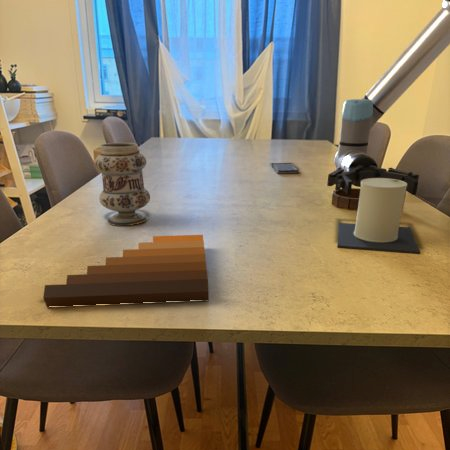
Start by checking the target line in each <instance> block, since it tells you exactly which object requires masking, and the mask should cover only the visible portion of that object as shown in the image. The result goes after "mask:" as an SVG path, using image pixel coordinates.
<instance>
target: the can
mask: <svg viewBox="0 0 450 450" xmlns="http://www.w3.org/2000/svg"><path fill="white" fill-rule="evenodd" d="M406 187H407V183H406V182H404V181H401V180H396V179H389V178H368V179H364V180H362V181H361V187H359V189H360V196H359V204H358V210H356V211H357V213H356V219H355V224H356V225H355V231H354V236H355V237H357V238H359V239H361V240H364V241H368V242H376V243H387V242H393V241H395V240H397V238H398V229H399V227H400V223H401V218H402V213H403V211H402V207H403V208H404V206H403V202H404V203H405V200H404V197H405V198H406V195H405V192H406V193H407V191H406Z"/></svg>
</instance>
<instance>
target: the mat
mask: <svg viewBox="0 0 450 450" xmlns="http://www.w3.org/2000/svg"><path fill="white" fill-rule="evenodd" d="M355 225H356V223H349V222H338V228H337V231H338V232H337V245H336V246H337V248H338V249H350V250H361V251H363V250H364V251H376V252H387V253H388V252H390V253H401V254H402V253H403V254H416V255H419V254H421V250H420V248H419V245H418V243H417V241H416V238H415V236H414V234H413V231H412V229H411V227H409V226H399V229H398V238H397V240H395V241H393V242H387V243H376V242H368V241H364V240H361V239H359V238H357V237H355V236H354V231H355Z"/></svg>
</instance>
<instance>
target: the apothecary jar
mask: <svg viewBox="0 0 450 450" xmlns="http://www.w3.org/2000/svg"><path fill="white" fill-rule="evenodd" d="M94 165H95V168H96V169H97V170H98V171H100V172H101V178H102V179H101V180H102V191H101V192H100V194H99V198H98V200H99V203H100V205H101V206H102V207H104V208H105V209H108V210H110V211H113V212H117V213H114V214H113V215H111V216H110V217H108V219H107V223H108V222H109V223H110V224H109V223H108V224H109V225H111V224H114V225H113V226H115V225H131V226H134V225H133V224H137V225H140V224H139V223H141V224H143V223H142V222H144V223H145V222H147V221H148V215H146V214H145V213H141V212H138V211H137V210H140V209H142V208H144V207H145V206H147V205H148V204H149V203H150V200H151V194H150V191H148V189H147V188H145V183H144V175H143V170H144V168H145V167H146V165H147V158H146V156H145V155H144V154H143V153H141V152H140V148H139V145H138V144H137V143H136V142H109V143H102V144H100V151H99V154H98V155H97V156H96V157H95V160H94ZM146 220H147V221H146Z"/></svg>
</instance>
